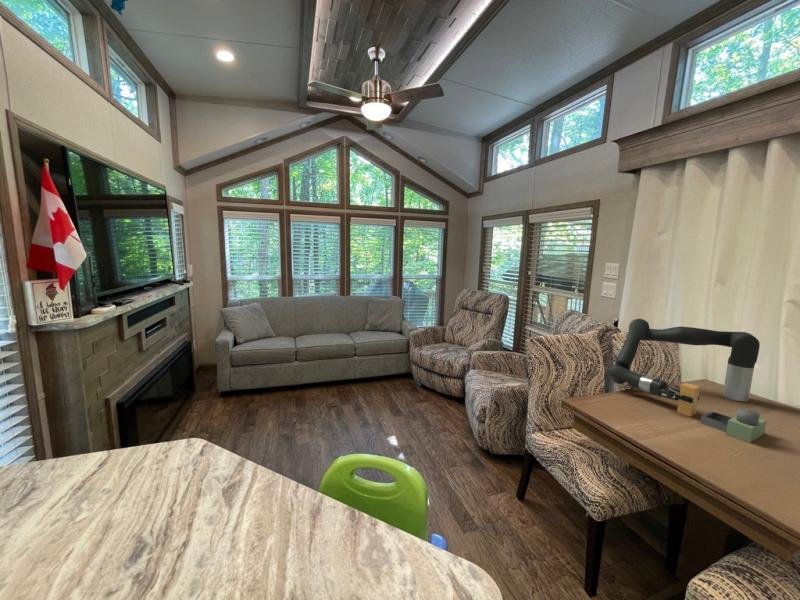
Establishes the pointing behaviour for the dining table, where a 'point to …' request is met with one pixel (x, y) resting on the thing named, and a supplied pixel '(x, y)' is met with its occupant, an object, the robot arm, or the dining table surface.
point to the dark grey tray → (709, 420)
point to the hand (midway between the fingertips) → (695, 399)
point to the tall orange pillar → (690, 392)
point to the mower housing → (746, 425)
